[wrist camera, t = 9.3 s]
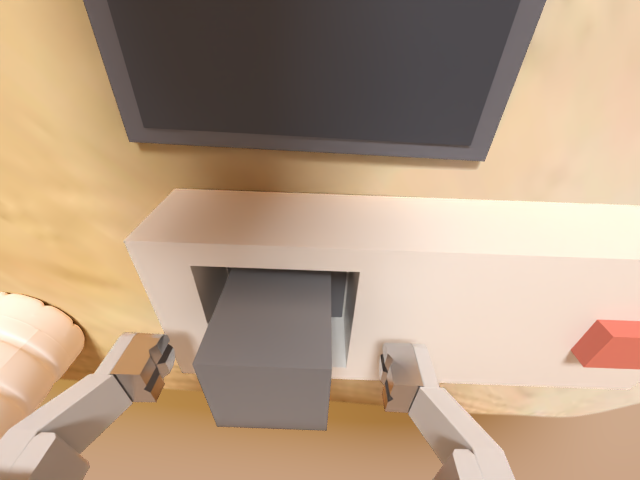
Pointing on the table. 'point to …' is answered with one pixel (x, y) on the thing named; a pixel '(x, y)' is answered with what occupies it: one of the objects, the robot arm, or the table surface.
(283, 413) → the block
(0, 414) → the water bottle
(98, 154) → the table surface
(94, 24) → the phone
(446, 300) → the power strip
